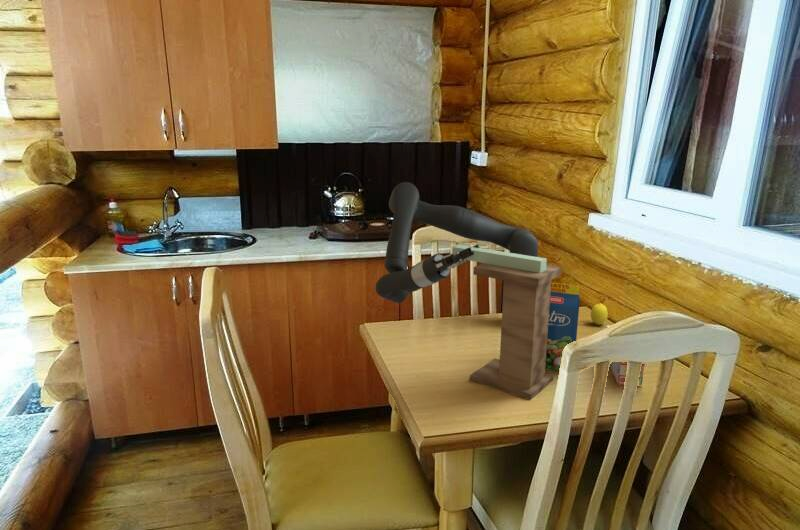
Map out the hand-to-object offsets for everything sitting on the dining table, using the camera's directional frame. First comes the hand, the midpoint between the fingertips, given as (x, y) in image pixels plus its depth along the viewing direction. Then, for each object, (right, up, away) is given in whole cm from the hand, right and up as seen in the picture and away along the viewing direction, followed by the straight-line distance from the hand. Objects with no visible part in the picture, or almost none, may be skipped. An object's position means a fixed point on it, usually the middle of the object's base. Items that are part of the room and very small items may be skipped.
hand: (475, 249), depth 152 cm
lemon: (+48, -25, +43) cm, 69 cm away
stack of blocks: (+43, -34, +9) cm, 56 cm away
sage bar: (+5, -4, -3) cm, 7 cm away
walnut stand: (+10, -36, +1) cm, 37 cm away
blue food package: (+23, -34, +10) cm, 42 cm away
